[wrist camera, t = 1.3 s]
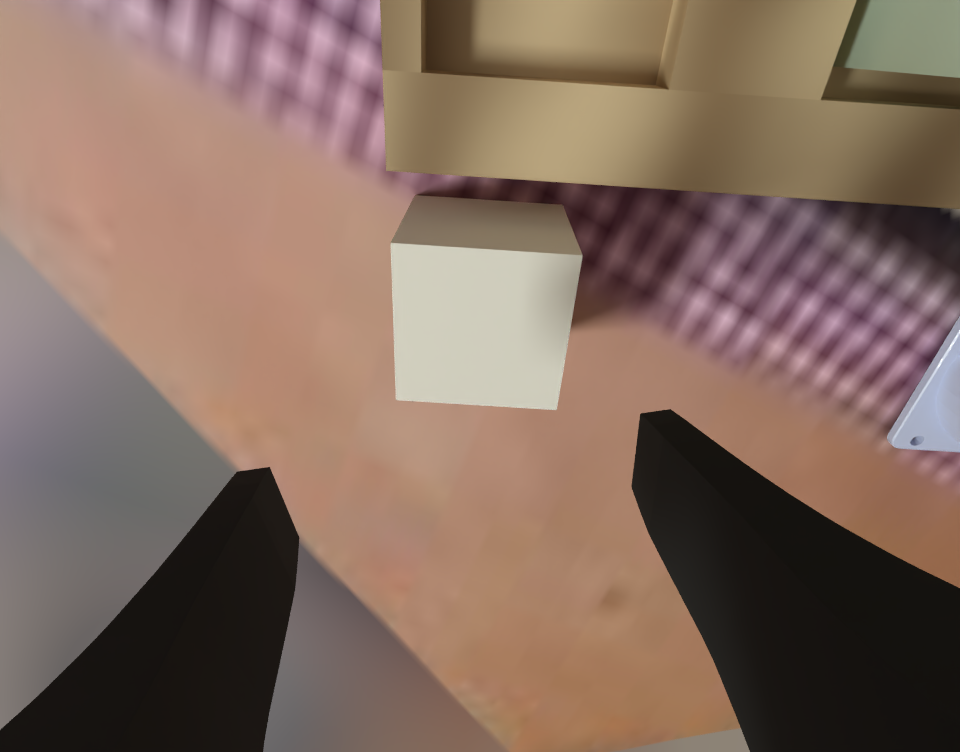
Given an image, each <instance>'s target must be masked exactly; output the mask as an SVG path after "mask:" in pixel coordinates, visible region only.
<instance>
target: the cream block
mask: <svg viewBox="0 0 960 752" xmlns="http://www.w3.org/2000/svg"><path fill="white" fill-rule="evenodd" d="M582 256H583V255H582V253H581V250H580V247H579V245H578V242H577V240H576V237H575V235H574V232H573V230H572V227H571V225H570V222H569V220H568V217H567V215H566V212H565V209H564V207H563V205H558V204H543V203H528V202H513V201H498V200H482V199H467V198H452V197H437V196H422V195H415V196H414V198H413V200H412V202H411V204H410V206H409V208H408V210H407V212H406V214H405V216H404V218H403V220H402V222H401V224H400V226H399V228H398V230H397V232H396V233H395V235H394V237H393V239H392V241H391V267H392V296H393V326H394V356H395V386H396V400H404V401H420V402H436V403H452V404H468V405H484V406H500V407H516V408H532V409H548V410H557V404H558V398H559V393H560V387H561V381H562V375H563V369H564V363H565V357H566V351H567V345H568V339H569V333H570V327H571V321H572V316H573V310H574V304H575V298H576V292H577V286H578V280H579V274H580V268H581V262H582Z"/></svg>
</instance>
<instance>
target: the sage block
mask: <svg viewBox="0 0 960 752" xmlns="http://www.w3.org/2000/svg"><path fill="white" fill-rule="evenodd" d="M833 67H844V68H855V69H866V70H877V71H888V72H900V73H911V74H922V75H933V76H944V77H955V78H960V0H857V1H856V3H855V6H854V9H853V12H852V14H851V17H850V20H849V23H848V25H847V28H846V31H845V34H844V37H843V39H842V42H841V45H840V48H839V50H838V53H837V56H836V59H835V61H834V64H833Z"/></svg>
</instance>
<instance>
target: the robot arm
mask: <svg viewBox="0 0 960 752" xmlns="http://www.w3.org/2000/svg"><path fill="white" fill-rule="evenodd" d="M914 437H915V438H914ZM887 440H888V441H889V442H890V444H891V445H892V446H894V447H895V448H900V449H916V450H932V451H948V452H960V317H959V318H958V320H957V321H956V323H955V325H954V326H953V328H952V330H951V331H950V333H949V335H948V336H947V338H946V340H945V341H944V343H943V345H942V346H941V348H940V350H939V351H938V353H937V354H936V356H935V358H934V359H933V361H932V363H931V364H930V366H929V368H928V369H927V371H926V373H925V374H924V376H923V378H922V379H921V381H920V383H919V384H918V386H917V387H916V389H915V391H914V392H913V394H912V396H911V397H910V399H909V401H908V402H907V404H906V406H905V407H904V409H903V411H902V412H901V414H900V416H899V417H898V419H897V420H896V422H895V424H894V425H893V427H892V429H891V430H890V432H889V434H888V436H887ZM632 490H633V492H634V495H635V498H636V501H637V504H638V506H639V509H640V512H641V515H642V517H643V520H644V522H645V525H646V528H647V530H648V533H649V535H650V537H651V539H652V541H653V543H654V545H655V547H656V549H657V551H658V553H659V555H660V557H661V559H662V560H663V562H664V564H665V566H666V568H667V570H668V572H669V574H670V576H671V578H672V580H673V582H674V584H675V586H676V587H677V589H678V591H679V593H680V595H681V597H682V599H683V601H684V603H685V605H686V607H687V609H688V610H689V612H690V614H691V616H692V618H693V620H694V622H695V624H696V626H697V628H698V630H699V632H700V633H701V635H702V637H703V639H704V641H705V644H706V646H707V648H708V650H709V652H710V654H711V656H712V658H713V660H714V663H715V665H716V668H717V670H718V672H719V675H720V677H721V680H722V682H723V685H724V687H725V690H726V692H727V694H728V697H729V699H730V702H731V704H732V707H733V709H734V712H735V714H736V716H737V719H738V722H739V724H740V727H741V729H742V732H743V734H744V737H745V740H746V742H747V745H748V747H749V750H750V752H960V588H958V587H956V586H954V585H952V584H950V583H948V582H946V581H944V580H942V579H940V578H937V577H935V576H933V575H931V574H929V573H927V572H925V571H923V570H921V569H919V568H917V567H915V566H913V565H911V564H909V563H907V562H905V561H903V560H902V559H900V558H898V557H896V556H894V555H892V554H890V553H888V552H887V551H885V550H883V549H881V548H879V547H877V546H876V545H874V544H872V543H870V542H868V541H867V540H865V539H863V538H861V537H859V536H858V535H856V534H854V533H852V532H850V531H849V530H847V529H845V528H843V527H842V526H840V525H838V524H837V523H835V522H833V521H832V520H830V519H828V518H827V517H825V516H823V515H822V514H820V513H819V512H817V511H815V510H814V509H812V508H811V507H809V506H807V505H806V504H804V503H803V502H801V501H800V500H798V499H796V498H795V497H793V496H792V495H790V494H789V493H787V492H786V491H784V490H783V489H781V488H780V487H778V486H777V485H775V484H774V483H772V482H771V481H769V480H768V479H766V478H765V477H763V476H762V475H760V474H759V473H758V472H756V471H755V470H753V469H752V468H750V467H749V466H748V465H746V464H745V463H743V462H742V461H741V460H739V459H738V458H736V457H735V456H734V455H732V454H731V453H729V452H728V451H727V450H725V449H724V448H723V447H721V446H720V445H719V444H717V443H716V442H714V441H713V440H712V439H710V438H709V437H708V436H706V435H705V434H704V433H702V432H701V431H700V430H698V429H697V428H696V427H694V426H693V425H692V424H690V423H689V422H687V421H686V420H685V419H683V418H682V417H681V416H679V415H678V414H676V413H675V412H674V411H672V410H671V409H669V410H662V411H655V412H648V413H641V414H640V421H639V429H638V438H637V446H636V454H635V463H634V471H633V479H632ZM298 548H299V536H298V534H297V531H296V529H295V526H294V524H293V522H292V519H291V517H290V515H289V512H288V510H287V507H286V505H285V503H284V500H283V498H282V495H281V493H280V491H279V488H278V486H277V483H276V481H275V479H274V476H273V474H272V472H271V469H270V467H267V468H260V469H253V470H246V471H239V472H236V474H235V475H234V476H233V477H232V478H231V480H230V481H229V482H228V483H227V485H226V486H225V487H224V488H223V490H222V491H221V492H220V493H219V495H218V496H217V497H216V498H215V500H214V501H213V502H212V503H211V505H210V506H209V507H208V508H207V510H206V511H205V512H204V513H203V515H202V516H201V517H200V518H199V520H198V521H197V522H196V524H195V525H194V526H193V527H192V528H191V530H190V531H189V532H188V533H187V535H186V536H185V537H184V538H183V540H182V541H181V542H180V543H179V544H178V546H177V547H176V548H175V549H174V551H173V552H172V553H171V554H170V555H169V557H168V558H167V559H166V560H165V562H164V563H163V564H162V565H161V566H160V567H159V569H158V570H157V571H156V572H155V574H154V575H153V576H152V577H151V578H150V579H149V580H148V581H147V583H146V584H145V585H144V586H143V587H142V588H141V589H140V590H139V592H138V593H137V594H136V595H135V596H134V597H133V598H132V599H131V601H130V602H129V603H128V604H127V605H126V606H125V607H124V608H123V610H122V611H121V612H120V613H119V614H118V615H117V616H116V617H115V619H114V620H113V621H112V622H111V623H110V624H109V625H108V626H107V627H106V628H105V629H104V630H103V631H102V633H101V634H100V635H99V636H98V637H97V638H96V639H95V640H94V641H93V642H92V643H91V644H90V645H89V646H88V647H87V648H86V649H85V650H84V651H83V652H82V653H81V654H80V655H79V656H78V657H77V658H76V659H75V660H74V661H73V662H72V663H71V664H70V665H69V666H68V667H67V668H66V669H65V670H64V671H63V672H62V673H61V674H60V675H59V676H58V677H57V678H56V679H55V680H54V681H53V682H52V683H51V684H50V685H49V686H48V687H47V688H46V689H45V690H44V691H43V692H42V693H40V694H39V696H37V697H36V698H35V699H34V700H33V701H32V702H31V703H30V704H29V705H28V706H26V707H25V708H24V709H23V710H22V711H21V712H20V713H19V714H18V715H16V716H15V717H14V718H13V719H12V720H11V721H10V722H9V723H8V724H6V725H5V726H4V727H3V728H2V729H1V730H0V752H263V747H264V740H265V734H266V728H267V722H268V716H269V711H270V706H271V702H272V697H273V692H274V687H275V683H276V678H277V673H278V669H279V664H280V659H281V654H282V650H283V645H284V641H285V636H286V631H287V626H288V621H289V616H290V611H291V606H292V602H293V597H294V591H295V584H296V574H297V562H298Z"/></svg>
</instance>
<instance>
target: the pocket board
mask: <svg viewBox="0 0 960 752" xmlns="http://www.w3.org/2000/svg"><path fill="white" fill-rule="evenodd" d="M856 1H857V0H380V9H381V37H382V66H383V94H384V122H385V150H386V171H399V172H414V173H429V174H443V175H458V176H473V177H488V178H503V179H518V180H533V181H548V182H563V183H578V184H593V185H608V186H623V187H638V188H653V189H668V190H683V191H698V192H713V193H728V194H743V195H758V196H773V197H788V198H803V199H818V200H833V201H848V202H863V203H878V204H893V205H908V206H923V207H938V208H953V209H960V78H955V77H944V76H933V75H922V74H911V73H900V72H888V71H877V70H866V69H855V68H844V67H833V64H834V61H835V59H836V56H837V53H838V50H839V48H840V45H841V42H842V39H843V37H844V34H845V31H846V28H847V25H848V23H849V20H850V17H851V14H852V12H853V9H854V6H855V3H856Z"/></svg>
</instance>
